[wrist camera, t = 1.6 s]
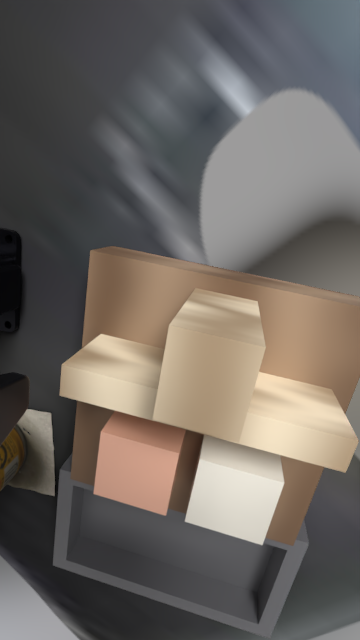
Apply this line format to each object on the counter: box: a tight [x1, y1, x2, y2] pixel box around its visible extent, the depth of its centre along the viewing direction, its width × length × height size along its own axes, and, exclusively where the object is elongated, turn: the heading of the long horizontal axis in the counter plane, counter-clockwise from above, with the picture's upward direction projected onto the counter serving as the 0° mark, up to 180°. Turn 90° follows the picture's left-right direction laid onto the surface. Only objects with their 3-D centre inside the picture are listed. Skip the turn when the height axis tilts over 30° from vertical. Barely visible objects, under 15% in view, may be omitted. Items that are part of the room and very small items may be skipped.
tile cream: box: [185, 435, 284, 545], centre depth 17 cm, size 4×4×2 cm
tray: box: [53, 452, 309, 639], centre depth 23 cm, size 16×9×2 cm, turn 80°
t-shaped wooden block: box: [60, 288, 359, 473], centre depth 14 cm, size 12×5×6 cm, turn 80°
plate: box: [70, 246, 360, 546], centre depth 19 cm, size 14×14×3 cm
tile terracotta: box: [93, 411, 186, 516], centre depth 18 cm, size 4×4×2 cm
